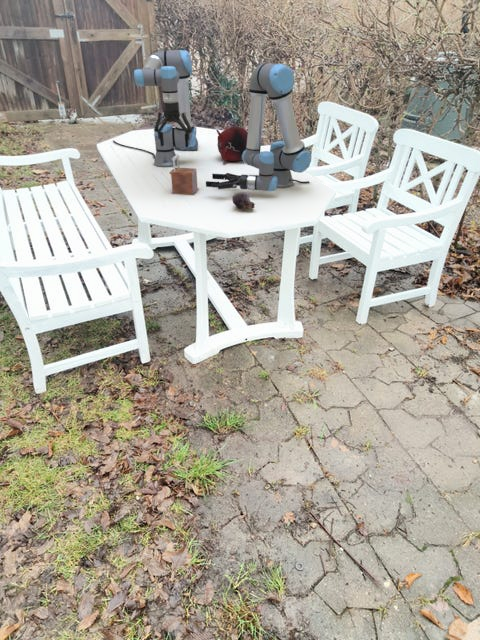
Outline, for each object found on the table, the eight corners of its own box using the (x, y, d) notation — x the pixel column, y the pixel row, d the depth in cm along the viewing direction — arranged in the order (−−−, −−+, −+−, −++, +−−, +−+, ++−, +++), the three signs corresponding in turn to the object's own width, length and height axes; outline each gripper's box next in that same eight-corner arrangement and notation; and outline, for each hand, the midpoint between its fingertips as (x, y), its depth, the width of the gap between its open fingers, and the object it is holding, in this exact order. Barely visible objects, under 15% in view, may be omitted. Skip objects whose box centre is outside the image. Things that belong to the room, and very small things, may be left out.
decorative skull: (214, 132, 305) (214, 129, 282) (248, 124, 304) (250, 121, 281) (221, 164, 312) (221, 164, 288) (254, 157, 311) (257, 156, 288)
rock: (245, 206, 232) (228, 209, 228) (244, 189, 228) (227, 192, 224) (257, 209, 223) (239, 213, 218) (256, 192, 219) (238, 195, 215)
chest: (172, 193, 246) (170, 174, 240) (177, 188, 254) (176, 169, 248) (193, 194, 244) (191, 175, 238) (197, 189, 251) (196, 170, 246)
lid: (169, 174, 240) (168, 158, 236) (175, 169, 248) (173, 153, 243) (191, 175, 238) (190, 159, 234) (196, 170, 246) (195, 154, 241)
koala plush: (198, 150, 320) (196, 121, 309) (173, 151, 319) (170, 122, 308) (198, 145, 335) (196, 116, 324) (174, 145, 334) (171, 117, 322)
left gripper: (144, 102, 223) (149, 146, 235) (192, 103, 219) (195, 149, 231) (150, 100, 229) (154, 143, 241) (197, 101, 225) (199, 145, 237)
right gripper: (243, 197, 231) (203, 194, 234) (252, 182, 251) (215, 179, 254) (243, 182, 226) (202, 180, 230) (252, 168, 246) (214, 166, 250)
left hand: (174, 146), depth 236 cm, fingers open, 13 cm apart
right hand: (209, 180), depth 242 cm, fingers open, 13 cm apart
